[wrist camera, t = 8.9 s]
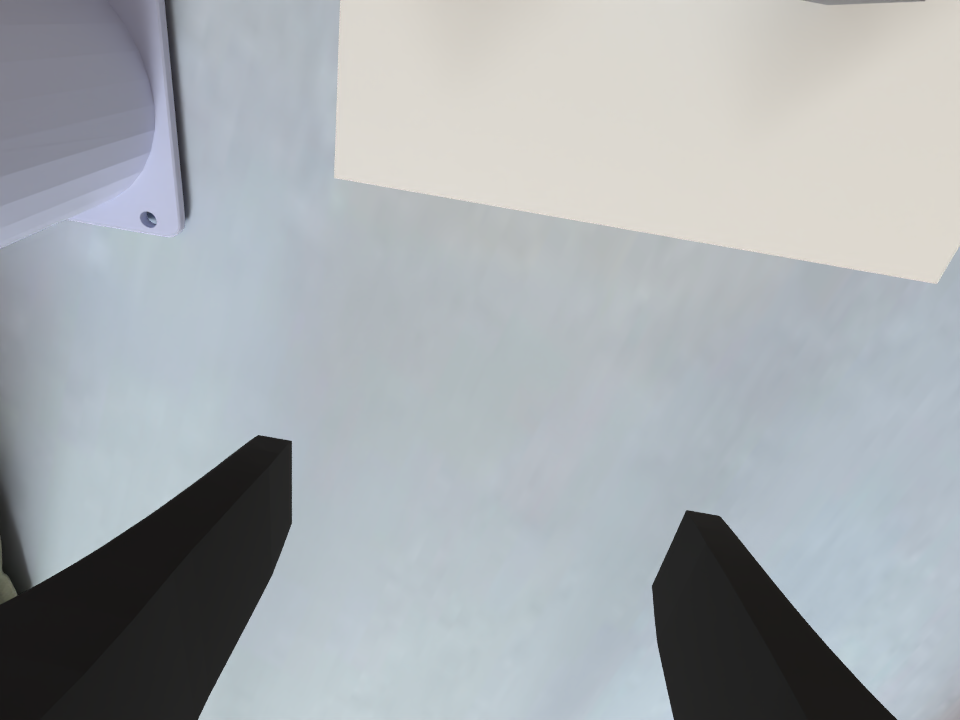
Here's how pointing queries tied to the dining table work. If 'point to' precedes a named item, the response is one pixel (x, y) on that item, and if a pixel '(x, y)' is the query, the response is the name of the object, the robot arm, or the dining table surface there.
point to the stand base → (672, 118)
